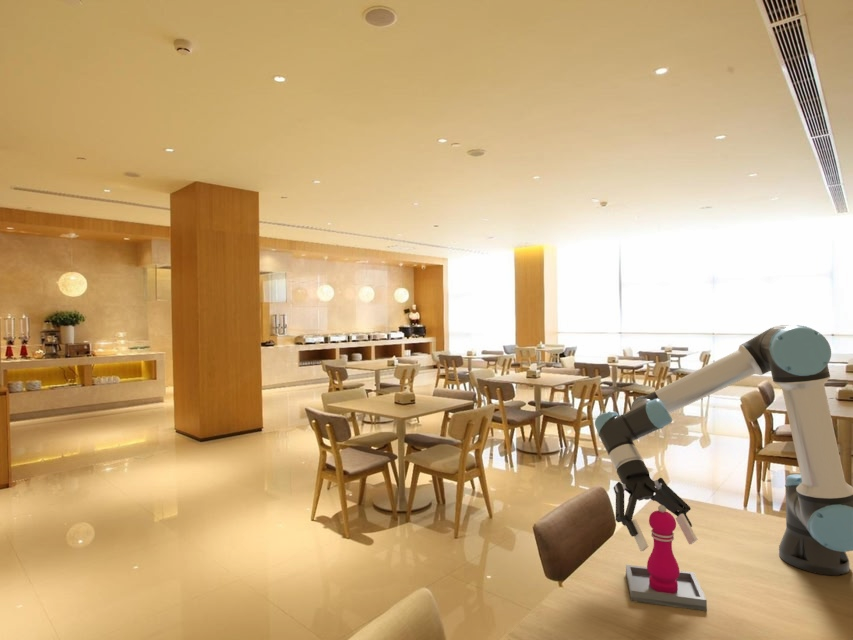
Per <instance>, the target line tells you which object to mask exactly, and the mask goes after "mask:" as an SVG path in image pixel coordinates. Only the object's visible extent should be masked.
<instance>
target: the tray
mask: <svg viewBox="0 0 853 640" xmlns="http://www.w3.org/2000/svg"><path fill="white" fill-rule="evenodd" d="M679 572H680V575H679V577H678V578H677V579H676V581H677V583H678V590H677V592H675V593H664V592H658V591H655V590H654V589H652V588H651V587H650V584H649V577H650V576H651V575H650V574H649V572H648V570H647V566H641V565H632V564H625V577H626V580H627V581H626V582H627V585H628V586H627V587H628V592H629V597H630V601H631V602H634V601H637V602H636V603H641V604H643V603H644V604H650V605H658V606H664V607H665V606H666V607H674V608H679V609H681V608H682V609H687V610H688V609H689V610H695V611H696V610H697V611H704V612H705V611H706V612H707V611H708V610H707V609H708V605H707V602H708V600H707V598H706V596H705V593H704V591H703V589H702V586H701V585H700V583H699V580H698V579H697V577H696V576H697V575H696V573H695V572H694V571H693V572H692V571H686V570H685V571H684V570H679Z"/></svg>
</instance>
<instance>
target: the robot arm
mask: <svg viewBox="0 0 853 640" xmlns="http://www.w3.org/2000/svg"><path fill="white" fill-rule="evenodd" d="M831 358H832V348H831V345H830V343H829V341H828V339H827V338H826V337H825V336H824V335H823V334H822V333H821V332H819V331H817V330H816V329H813V328H811V327H808V326H804V325H798V324H797V325H789V324H787V325H784V324H781V325H776V326H773V327H770V328H768V329H766V330H765V331H763V332H761V333H759V334H758V335H757V336H756V335H755V336H754V337H752V338H750V339H749V340H748V341H746V342H744V343H742V344H740V345H739V346H738V350H736V351H734V352H732V353H729V354H727V355H725V356H724V357H721V358H719V359H717V360H716V361H713V362H711V363H709V364H707V365H705V366H703V367H701V368H698V369H696V370H695V371H693V372H690V373H688V374H686V375H684V376H683V377H681V378H678V379H677V380H674V381H672V382H671V383H668V384H666V385H664V386H662V387H661V388H658V389H656V390H655V391H652V392H651V393H647V394H646V395H641V396H638V397H636V398H635V399H634V400H633V401H632V404H631V406H630V407H631V408H630V410H629V411H627V412H624V413H623V414H619V413H618V412H617V411H613V410H610V411H607V412H603V413H601V414H599V415H598V416H597V417H596V418H595V420H594V426H595V428H596V429H595V430H596V431H597V434H598V437H599V439H600V441H601V443H602V445H603V446H604V449H605V450H606V452H607V455H608V457H609V458H610V461H611V464H612V465H613V468H614V469H615V470H616V474H617V476H618V478H619V480H620V481H617V482H616V484H615V485H614V486H613V491H614V495H615V521H616V522H617V523H621V524H622V525H623V526H625V527H626V528H627V530H628V532H629V534H630V536H631V537H633V538H634V540H635V542H636V544H637V546H638V549H639V550H640V552H644V551H645V550H646V549H647V548H649V545H648V542H647V540H646V538H645V536H644V534H643V531H642V529H641V527H640V525H639V524H638V521H637V519H633V517H634V512H635V510H636V507H637V506H636V505H637V502H639V501H643V500H645V501H647V500H651V501H653V502H657V504H659V505H663V506H665V507H666V510H668V512H670V513H672V514H673V515H674V516H676V518H675V521H676V523H677V524H678V525H679V528H680V530H681V532H682V533H683V536H684V537H685V539H686V541H687V543H688V544H689V545H693V544H694V543H696V542H697V541H698V538H697V536H696V534H695V532H694V530H693V528H692V527H693V525H692V523H691V521H690V519H689V516H688V515H687V513H689V511H691V510H692V509H691V506H689V504H688V503H687V502H685V500H684V499H682V498H681V497H680V496H679V495H678V494H677V493H676V492H675V491H674V490H673V489H672V488H670V487H669V486H668V484H667V483H666V482H665V480H664V479H663V478H662V477H659V478H658V479H656V480H654V479H652V478H651V475H650V472H649V471H650V470H648V467H647V466H646V464H645V462H644V461H643V458H642V456H641V454H640V453H639V450H638V448H637V447H636V445H635V442H634V441H637V440H638V439H641V438H642V437H645V436H647V435H649V434H651V433H653V432H655V431H659V430H660V429H661V430H662V429H663V428H664V427H666V426H668V425H670V424H671V423H672V422H673V417H672V416H671V413H674V412H676V411H678V410H680V409H682V408H684V407H686V406H689V405H691V404H693V403H695V402H698V401H699V400H702V399H703V398H704V399H705V398H706V397H708V396H710V395H712V394H715V393H717V392H719V391H721V390H723V389H724V388H727V387H730V386H732V385H734V384H736V383H739V382H740V381H742V380H745V379H747V378H749V377H751V376H753V375H757V376H758V375H759V376H762V375H765V374H767V373H769V372H770V373H771V377H772V382H773V383H774V384H775V385H777V386H778V387H780V389H782V390H781V391H782V395H783V399H784V403H785V404H784V405H785V409H786V413H787V418H788V422H789V426H790V433H791V437H792V441H793V446H794V451H795V455H796V456H795V457H796V460H797V464H798V465H797V466H798V469H799V473H796V474H795V473H793V474H789V475H787V476H786V478H785V484H784V487H785V522H786V523H785V524H786V525H785V526H786V527H785V530H784V533H783V535H782V538H781V541H780V543H779V545H778V546H779V547H778V555H779V558H780V559H781V560H782V561H784V562H785V563H787V564H789V565H791V566H792V567H794V568H797V569H799V570H802V571H805V572H809V573H814V574H818V575H826V576H841V575H840V574H843V575H846V574H848V573H849V572H850V560H849V556H848V555H847V552H853V486H852V485H850V484H848V482H846V478H845V473H844V470H843V466H842V460H841V456H840V451H839V446H838V442H837V437H836V434H835V433H836V432H835V429H834V425H833V419H832V416H831V409H830V406H829V402H828V401H829V400H828V396H827V391H826V387H825V384H826V382H828V380H829V379H831V375H830V369H829V366H828V365H829V363H830V361H831ZM625 491H626V493H628V494H629V496H628V500H627V501H628V502H627V506H626V508H625ZM845 573H846V574H845Z"/></svg>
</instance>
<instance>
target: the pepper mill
mask: <svg viewBox="0 0 853 640" xmlns="http://www.w3.org/2000/svg"><path fill="white" fill-rule="evenodd" d="M657 507H658V508H657V510H655V511H652V512H651V513H650V515H649V519H648V524H649V526H650V528H651V531H650V532H651V537H652V539H653V548H652V550H651V552H650V555H649V557H648V559H647V562H646V563H647V564H646V567H647V570H648V572H649V574H650V575H651V576H650V577H649V584H650V587H651V588H652V589H654V590H655V591H658V592H664V593H675V592H677V590H678V583H677V581H676V579H677V578H678V577H679V575H680V572H679V571H680V566H679V563H678V562H677V559H676V557H675V555H674V552H673V546H672V545H673V541H674V539H675V536H674V535H675V533H674V531H675V530H676V527H677V520H676V518H675V517H674V515H672V514H671V512H669V511H667V509H666V507H665V506H663V505H661V504H659V505H658V506H657Z"/></svg>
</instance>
